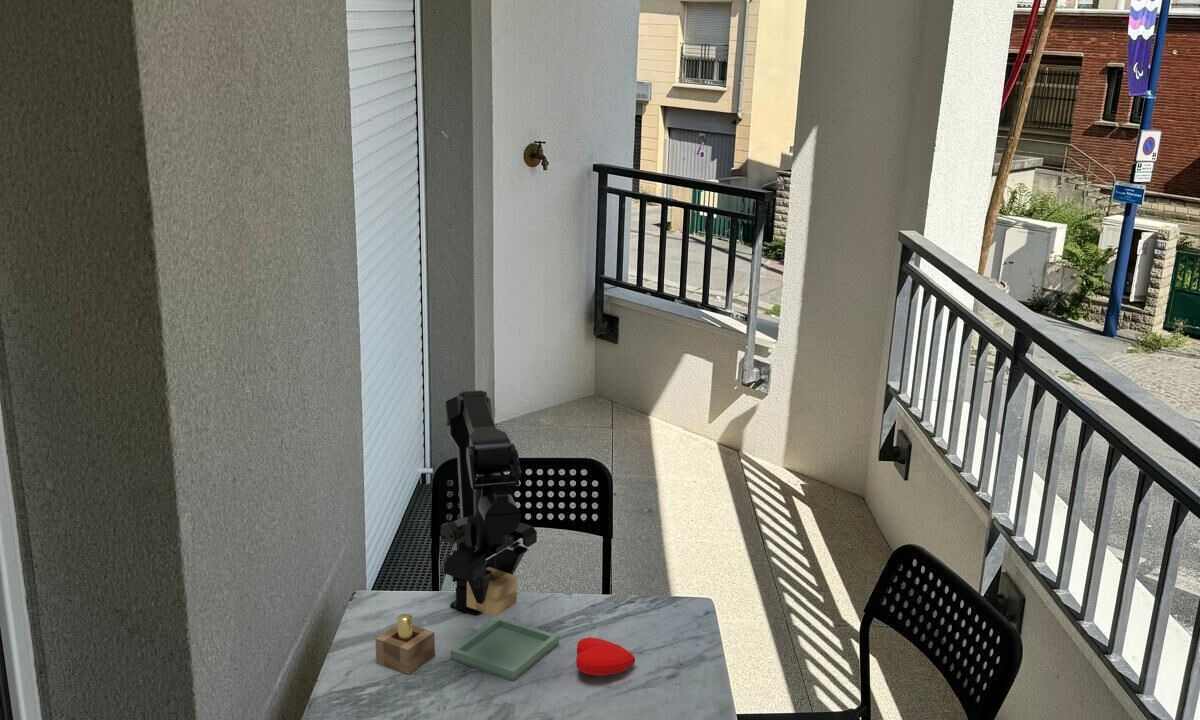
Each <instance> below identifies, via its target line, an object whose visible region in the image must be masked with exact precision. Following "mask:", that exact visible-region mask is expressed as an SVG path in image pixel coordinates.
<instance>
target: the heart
mask: <svg viewBox="0 0 1200 720" xmlns="http://www.w3.org/2000/svg"><path fill="white" fill-rule="evenodd" d="M576 645H577V646H576V654H577V655H576V662H575V664H576V668H577V669H578V670H579V671H580V672H582V673H583V674H585V675H588V676H589V675H590V676H604V675H605V676H606V675H607V676H608V675H615V674H620V673H621V672H624V671H626V670H628V669H629V668H631V667H632V666H634V665H635V663H636V657H635V656H634V655H633V654H632V653H631V652H630V651H628V650H627V649H625V648H624V647H623V646H621V645H620V644H617V643H614V642H612V641H611V642H610V641H607V640H605V639H603V638H597V637H590V636H589V637H585V638H582V639H580V640H578V641H577V644H576Z"/></svg>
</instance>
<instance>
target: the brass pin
mask: <svg viewBox="0 0 1200 720" xmlns="http://www.w3.org/2000/svg"><path fill="white" fill-rule="evenodd" d="M397 625H398V640H400V641H403V642H406V643H407V642H408V641H410V640H411V639H413V635H412V625H413V615H412V614H410V613H402V614H399V615H398V616H397Z"/></svg>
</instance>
